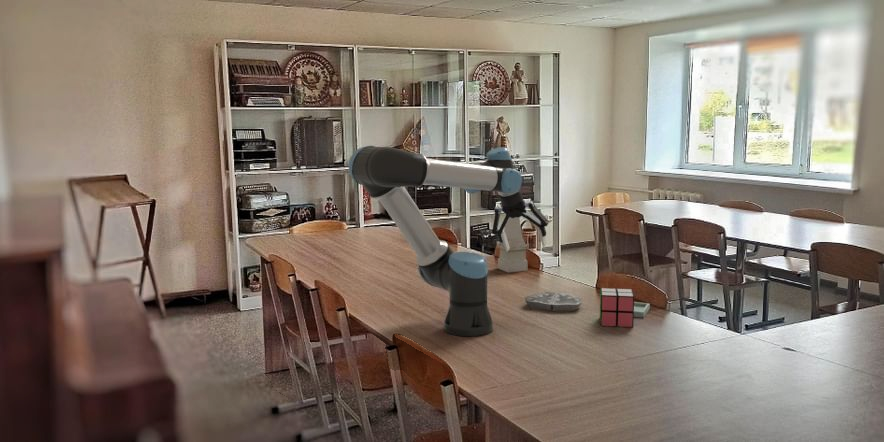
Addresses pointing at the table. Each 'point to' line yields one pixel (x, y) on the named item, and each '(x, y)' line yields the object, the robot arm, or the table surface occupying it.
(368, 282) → the table surface
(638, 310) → the coaster
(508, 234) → the miniature monument
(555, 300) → the brain slice
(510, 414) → the table surface
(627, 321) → the puzzle cube
